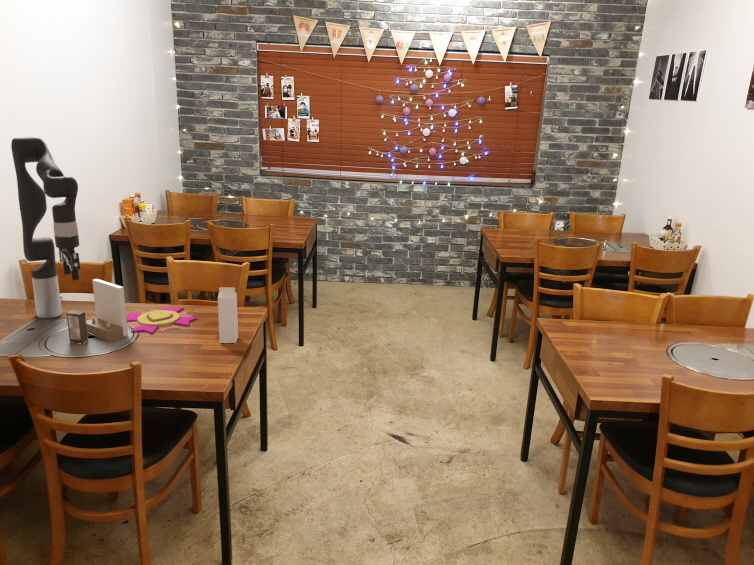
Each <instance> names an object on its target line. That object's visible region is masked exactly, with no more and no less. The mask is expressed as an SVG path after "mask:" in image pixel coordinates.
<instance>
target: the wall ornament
mask: <svg viewBox="0 0 754 565" xmlns="http://www.w3.org/2000/svg"><path fill="white" fill-rule="evenodd" d="M184 308H185V307H184V306H183V307H182V306H181V307H170V306H166V305H165V306H163V307H162V308H161V309H160V310H158V309H157V308H154V309H151V310H149V311H138V313H137V312H129V316H126V319H127V326H128V325H129V326H128V328H129V327H131V326H132V327H134V328H133V329H130V332H131V333H141V332H143V333H147V334H151V335H153V334H154V333H155V332H156V330H157V329H159V331H160V332H161V333H164V332H166V331H168V330H173V329H174V330H175V329H177V328H181V327H179V326H182V325H185V326H184V327H189V326H190V323H191V322H194V321H196V320H198V317H197V316H195V317H193V316H194V315H191V314H188V312H187V311H188V310H186V311H184ZM193 320H194V321H193ZM190 321H191V322H190ZM175 324H176V325H175ZM177 330H178V329H177ZM135 331H136V332H135Z"/></svg>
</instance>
